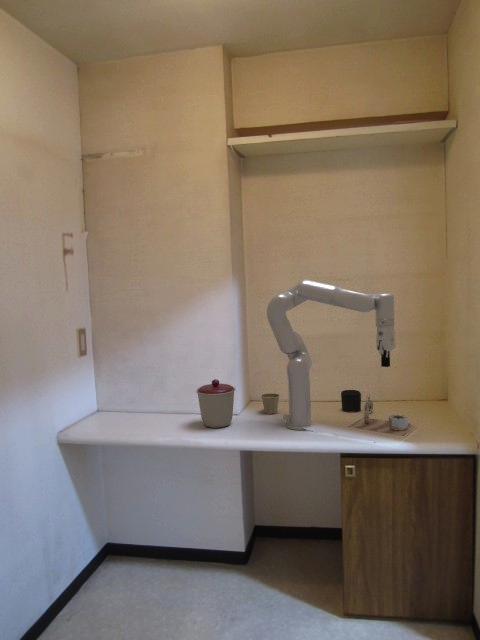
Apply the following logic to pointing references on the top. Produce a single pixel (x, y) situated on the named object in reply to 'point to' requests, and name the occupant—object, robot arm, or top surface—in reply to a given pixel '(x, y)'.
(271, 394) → the flower pot
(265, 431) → the top surface
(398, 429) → the brass hub
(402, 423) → the steel ring
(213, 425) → the canister
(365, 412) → the stand rod
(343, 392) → the pen holder
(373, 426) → the walnut board
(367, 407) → the pocket watch
